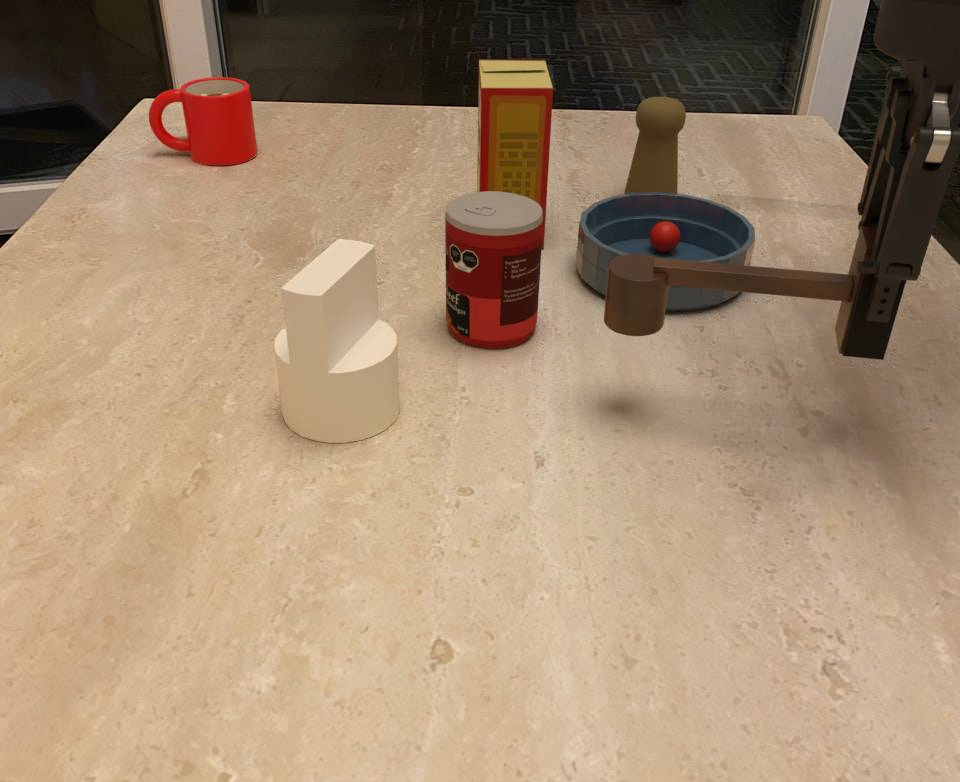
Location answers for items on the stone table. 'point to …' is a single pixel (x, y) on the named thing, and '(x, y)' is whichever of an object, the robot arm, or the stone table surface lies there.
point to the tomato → (664, 236)
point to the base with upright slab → (337, 349)
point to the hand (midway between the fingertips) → (859, 339)
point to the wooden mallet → (720, 286)
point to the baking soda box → (514, 128)
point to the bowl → (627, 230)
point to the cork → (656, 146)
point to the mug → (210, 120)
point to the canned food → (492, 268)
